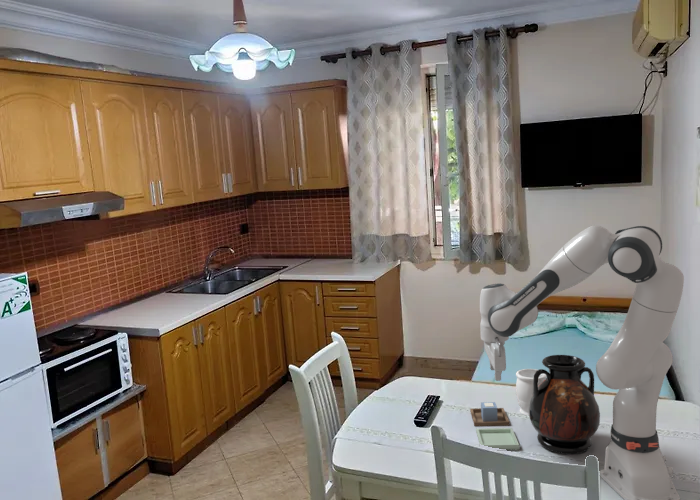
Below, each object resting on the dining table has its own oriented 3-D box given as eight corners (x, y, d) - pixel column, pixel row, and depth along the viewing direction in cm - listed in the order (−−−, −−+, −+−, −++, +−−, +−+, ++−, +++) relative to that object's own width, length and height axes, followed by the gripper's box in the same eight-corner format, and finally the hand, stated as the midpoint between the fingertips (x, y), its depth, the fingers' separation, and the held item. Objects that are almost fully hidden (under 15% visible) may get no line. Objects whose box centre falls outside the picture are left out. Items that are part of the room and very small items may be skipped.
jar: (543, 406, 217) (542, 368, 215) (549, 418, 207) (549, 378, 205) (514, 407, 218) (513, 368, 216) (519, 418, 208) (518, 378, 206)
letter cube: (497, 421, 206) (497, 407, 205) (483, 421, 206) (482, 407, 205) (495, 415, 211) (494, 401, 210) (481, 415, 211) (480, 401, 210)
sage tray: (519, 450, 186) (519, 444, 185) (481, 450, 187) (480, 445, 187) (512, 433, 198) (511, 428, 197) (476, 433, 199) (476, 428, 198)
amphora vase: (585, 427, 199) (585, 348, 195) (611, 458, 177) (612, 370, 173) (521, 430, 199) (520, 351, 195) (540, 461, 178) (539, 374, 174)
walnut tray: (509, 427, 202) (509, 422, 202) (474, 427, 203) (474, 422, 203) (503, 412, 214) (503, 407, 214) (470, 413, 215) (470, 408, 215)
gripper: (510, 342, 176) (511, 386, 178) (499, 324, 197) (500, 363, 199) (489, 343, 177) (490, 386, 179) (480, 325, 197) (481, 364, 199)
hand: (495, 374), depth 189 cm, fingers open, 8 cm apart
